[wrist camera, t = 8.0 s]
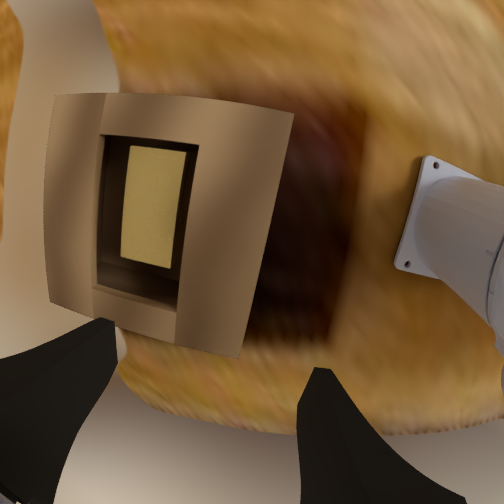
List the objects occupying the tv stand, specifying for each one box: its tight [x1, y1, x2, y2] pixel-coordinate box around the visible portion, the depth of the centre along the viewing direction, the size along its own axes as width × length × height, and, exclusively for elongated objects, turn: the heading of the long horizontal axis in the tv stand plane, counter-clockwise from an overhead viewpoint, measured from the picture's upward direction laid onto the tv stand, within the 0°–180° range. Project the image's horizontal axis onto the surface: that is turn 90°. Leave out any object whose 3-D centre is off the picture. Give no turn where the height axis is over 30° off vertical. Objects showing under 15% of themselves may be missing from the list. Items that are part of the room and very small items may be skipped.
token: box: [121, 146, 198, 269], centre depth 16 cm, size 3×6×4 cm, turn 169°
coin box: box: [44, 93, 294, 359], centre depth 16 cm, size 12×12×6 cm
